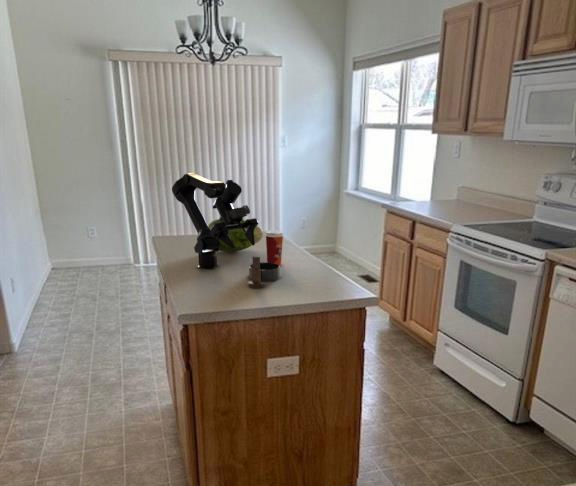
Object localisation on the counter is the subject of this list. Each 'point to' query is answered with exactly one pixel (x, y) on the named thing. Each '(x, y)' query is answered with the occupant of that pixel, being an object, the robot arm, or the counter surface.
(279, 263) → the paper cup
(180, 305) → the counter surface
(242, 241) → the lettuce
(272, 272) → the tub
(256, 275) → the brown stepped tower
